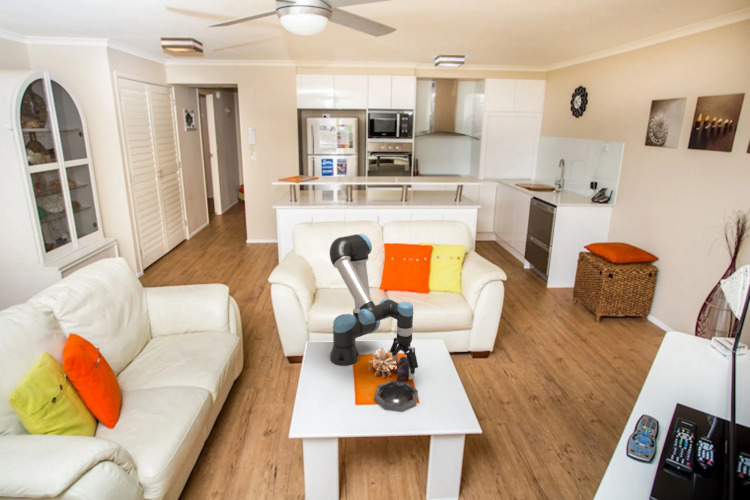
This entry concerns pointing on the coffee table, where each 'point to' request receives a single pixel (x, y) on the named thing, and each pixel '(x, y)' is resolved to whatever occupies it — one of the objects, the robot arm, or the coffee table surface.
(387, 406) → the collar
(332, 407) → the coffee table surface
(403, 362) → the rock
